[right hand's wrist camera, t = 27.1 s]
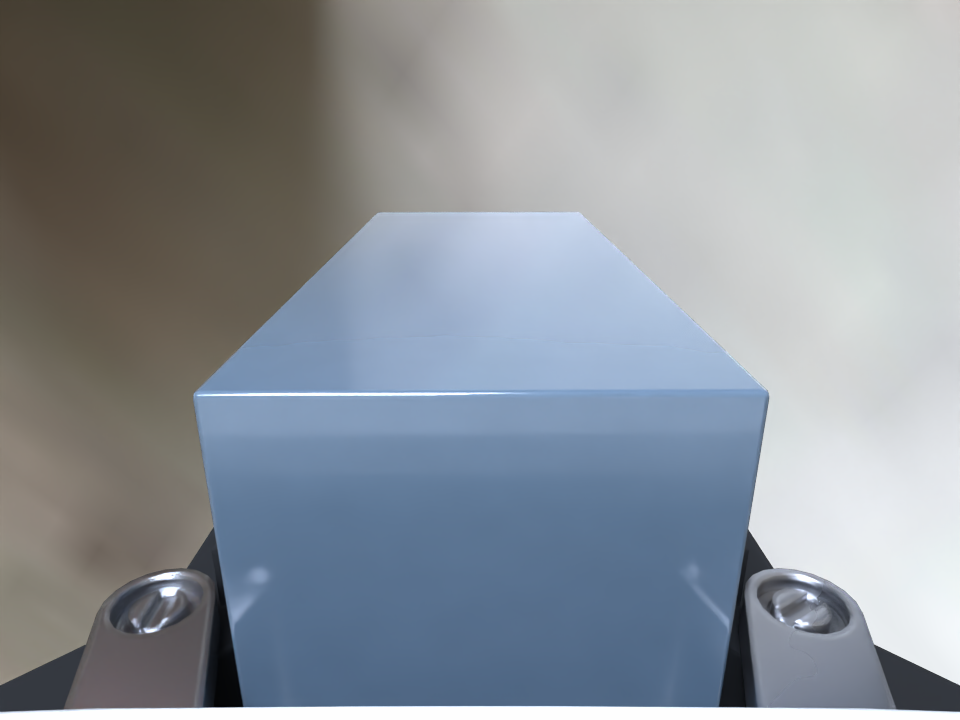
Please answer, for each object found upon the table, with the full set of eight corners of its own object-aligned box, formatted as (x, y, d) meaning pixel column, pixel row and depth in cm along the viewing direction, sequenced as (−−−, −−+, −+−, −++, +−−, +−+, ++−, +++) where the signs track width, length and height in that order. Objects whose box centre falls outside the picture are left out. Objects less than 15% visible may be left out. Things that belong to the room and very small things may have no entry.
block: (580, 211, 16) (774, 391, 6) (565, 499, 19) (677, 981, 8) (376, 211, 16) (188, 392, 6) (391, 500, 19) (285, 982, 8)
